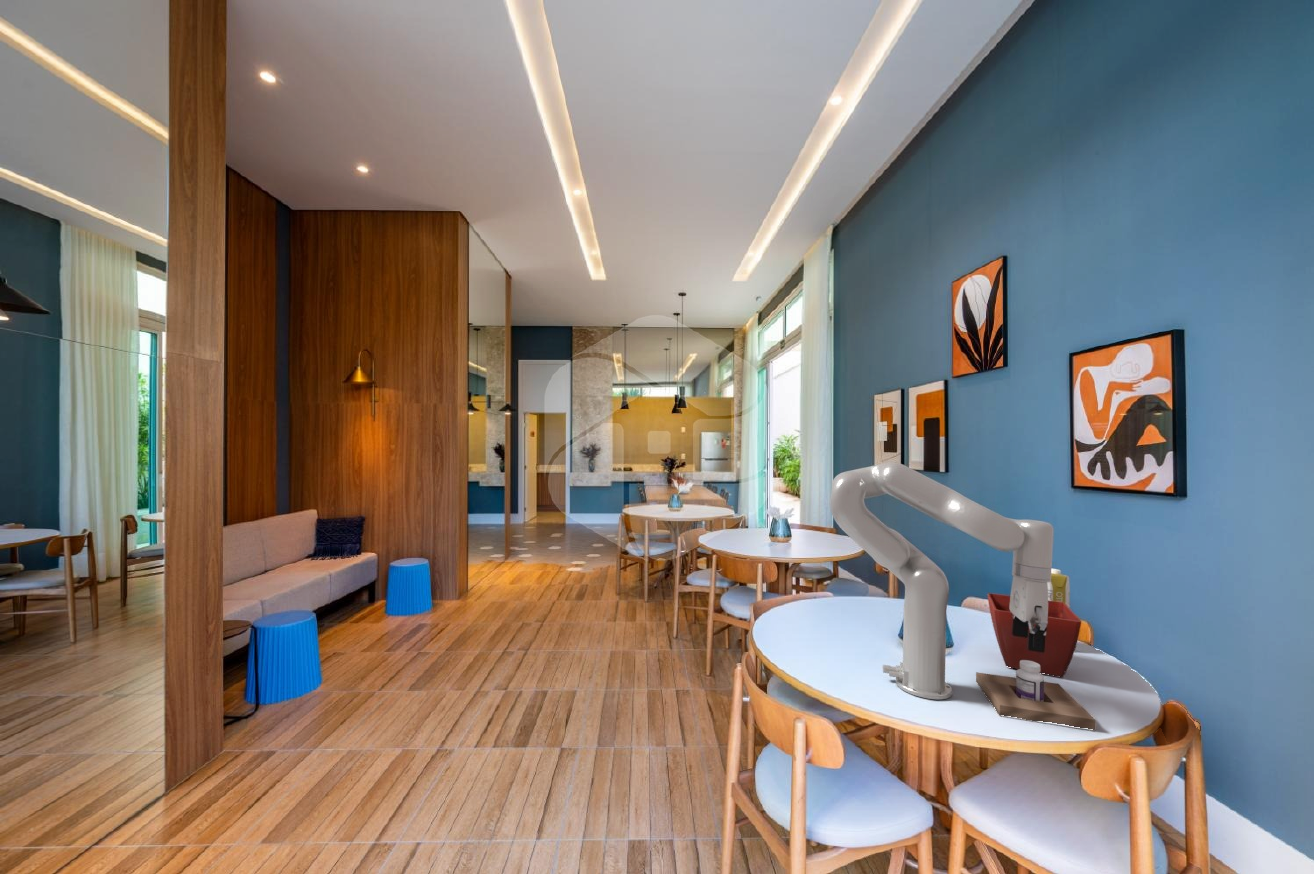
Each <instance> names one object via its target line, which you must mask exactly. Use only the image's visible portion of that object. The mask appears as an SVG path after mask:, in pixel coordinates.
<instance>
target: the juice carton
mask: <svg viewBox="0 0 1314 874" xmlns="http://www.w3.org/2000/svg"><path fill="white" fill-rule="evenodd" d="M1051 568H1052V567H1051ZM1061 572H1062V570H1060V569H1056V568H1052V569H1051V582H1047V584H1048V600H1049V601H1056V602H1062V603H1065V604H1066V605H1067V606H1068V607H1069V608H1070V604H1071V603H1070V598H1071V597H1070V596H1071V595H1070V594H1071V593H1070V592H1071V590H1070V589H1071V587H1070V577H1069V576H1068V575H1066V574H1062V573H1061Z"/></svg>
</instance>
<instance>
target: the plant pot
mask: <svg viewBox="0 0 1314 874" xmlns="http://www.w3.org/2000/svg"><path fill="white" fill-rule="evenodd" d="M1010 596H1011V595H1007V594H999V593H991V592H989V593H987V599H988V600H987V601H988V607H989V612H990V618H991V623H992V626H993V630H994V634H995V638H996V641H997V645H998V648H999V651H1000V654H1001V656H1002V659H1003V662H1004V665H1005V666H1008V667H1011V668H1016V669H1021V668H1020V661H1021V660H1029V661H1033V662H1036V663H1038V664H1039V665H1040V672H1039V673H1045V674H1049V675H1048V676H1050V675H1054V676H1053V677H1055V676H1060V677H1059V678H1063V677H1064V676H1065V675H1066V673H1067V671H1068V668H1069V667H1070V664H1071V661H1072V659H1073V656H1074V654H1075V650H1076V647H1077V644H1078V641H1079V636H1080V632H1081V626H1082V620H1081V619H1080V618H1079V617H1078V615H1077V614H1075V612H1073V611H1072V609H1071V608H1070V606H1069V607H1068V606H1067V605H1066V604H1065V603H1062V602H1056V601H1049V600H1048V618H1047V620H1048V623H1047V626H1046V627H1047V630H1046V636H1045V651H1044V653H1042V652H1035V651H1029V650H1028V649H1027V645H1028V637H1027V638H1024V637H1018V636H1013V635H1012V625H1013V613H1012V612H1011V611H1010V609H1009V606H1010ZM1031 620H1033V619H1031ZM1033 626H1034V627H1035V626H1036V625H1034V624H1033ZM1028 632H1029V633H1030V629H1029V624H1028ZM1008 667H1007V668H1008ZM1011 668H1010V669H1011ZM1016 669H1015V670H1016Z"/></svg>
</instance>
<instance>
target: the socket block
mask: <svg viewBox="0 0 1314 874" xmlns="http://www.w3.org/2000/svg"><path fill="white" fill-rule="evenodd" d="M975 674H976V675H975V682H977V683H978V684H977V683H976V684H977V685H978V687H979V686H980V687H981V688H980V687H979V688H980V690H981V689H982V690H981V691H982V693H983V692H984V693H985V694H984V693H983V694H984V696H985V695H986V696H987V697H986V696H985V697H986V698H988V699H989V700H990V701H989V700H988V699H987V700H988V701H989V703H990V702H991V703H992V704H991V703H990V704H991V706H992V705H993V706H992V707H993V708H994V707H995V709H996V710H995V709H994V710H995V712H996V711H997V712H996V713H997V714H999V715H1004V716H1011V717H1017V718H1022V719H1026V720H1025V721H1027V720H1032V721H1031V722H1033V721H1043V722H1052V723H1057V724H1065V725H1069V726H1074V727H1080V728H1088V729H1093V730H1095V731H1097V729H1096V728H1097V726H1096V725H1097V724H1096V723H1097V720H1096V719H1095V718H1094V716H1093V715H1092V714H1090V713H1089V711H1087V710H1086V708H1084V707H1083V706H1082V705H1081V704H1080V703H1079V702H1078V701H1077V700H1076V699H1075V698H1074V697H1073V696H1072V695H1071V694H1070V693H1069V692H1068V691H1066V689H1064V687H1062V686H1061V685H1060V683H1056V682H1049V681H1044V702H1042V701H1035V700H1029V699H1022V698H1018V696H1017V695H1016V677H1012V676H1004V675H999V674H992V673H984V672H977V671H976V672H975ZM999 715H998V716H999ZM1095 731H1094V732H1095Z"/></svg>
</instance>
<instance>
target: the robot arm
mask: <svg viewBox="0 0 1314 874" xmlns="http://www.w3.org/2000/svg"><path fill="white" fill-rule="evenodd" d="M887 494H888V495H889V496H891V497H892V498H893V497H894V498H895V499H896V500H899V501H901V502H902V503H904V504H906V505H908V506H910V507H912V508H914V509H916V510H918V511H919V512H921V513H923V514H925V515H927V516H928V517H931V518H933V519H935V520H937V521H939V522H940V523H944V524H946V525H948V526H951V527H953V528H954V529H956V530H957V529H958V530H960V531H961V532H963V533H965V534H967V535H969V536H970V537H973V538H975V539H976V540H978V541H981V542H983V543H984V544H986V545H988V546H989V547H992V548H993V549H995V550H997V551H999V552H1004V553H1006V552H1008V553H1009V552H1012V554H1013V555H1012V556H1013V557H1012V568H1011V569H1012V571H1011V575H1012V576H1013V577H1012V582H1011V587H1010V588H1011V590H1010V595H1009V596H1010V606H1009V609H1010V611H1011V612H1012V613H1013V625H1012V635H1013V636H1018V637H1024V638H1027V637H1028V645H1027V649H1028V650H1029V651H1035V652H1042V653H1044V651H1045V636H1046V630H1047V627H1046V626H1047V623H1048V620H1047V618H1048V584H1047V582H1051V569H1052V567H1053V564H1052V563H1053V550H1054V549H1053V548H1054V534H1055V533H1054V527H1053V525H1052V524H1051V523H1049V522H1047V521H1042V520H1036V519H1035V520H1034V519H1014V518H1011V517H1010V518H1009V517H1005V516H1003V515H1001V514H1000V513H997V512H996V511H994V510H991V509H989V508H987V507H985V506H984V505H981V503H980V504H979V503H977V502H976V501H973V500H972V499H970V498H968V497H966V496H964V495H963V494H961V493H960V492H957V491H956V490H954V489H952V488H951V487H949V486H946V485H944V484H942V483H940V482H938V481H936V480H935V479H932V478H930V477H929V476H926V475H924V474H923V473H920V472H919V471H917V470H914V469H913V468H911V467H909V466H907V465H905V464H902V463H899V462H893V461H889V462H888V461H886V462H883V463H879V464H876V465H875V464H874V465H871V466H870V465H869V466H867V467H860V468H857V469H853V470H847V471H844V472H840V473H838V474H837V475H835V477H834V478H833V480H832V482H831V491H830V498H829V501H830V502H829V507H830V511H831V515H832V517H833V520H834V522H835V523H836V524H837V526H838V527H839V528H840V529H841V530H842V531H843V532H844V533H845V534H846V535H847V536H848V537H849V538H850V539H851V540H853V542H855V543H856V544H857V545H858V546H859V547H860V548H861V549H862V550H864V552H866V553H867V554H868V555H869V556H870V557H871V558H872V559H873V560H874V561H875V562H876V564H878V565H879V566H880V567H883V568H886V569H887V570H888V571H889V572H891V574H893V575H894V576H895V578H897V579H898V580H899V581H900V582H902V583H903V585H904V600H903V601H904V603H903V616H902V617H903V619H902V620H903V627H902V628H903V629H902V631H903V634H902V635H903V636H902V637H903V640H902V662H899V665H895V666H891V665H888V664H882V672H883V674H884V673H885V674H888V676H889V677H890V678H891V677H892V678H895V684H896V685H897V687H898V688H900V689H901V690H903V691H904V692H906V693H908V694H910V695H913V696H916V697H919V698H923V699H927V700H928V699H929V700H946V699H949V698H951V697H952V695H953V689H952V686H951V685H949V684H948V682H946V652H947V651H946V650H947V647H946V646H947V641H946V640H947V629H946V628H947V627H946V626H947V608H948V602H949V601H948V600H949V595H950V592H949V591H950V587H949V581H948V579H947V576H946V574H945V572H944V570H942V569H941V568H940V567H939V565H937V564H936V563H935V562H934V561H933V560H932V559H930V558H929V557H928V556H927V555H926V554H924V553H923V552H922V551H921V550H920V549H918V548H917V547H916V546H915V545H914V544H912V543H911V542H910V541H909V540H908V539H906V538H905V537H904V536H903V535H902V533H900V532H898V531H897V530H895V529H893V528H891V527H889V526H887V525H886V524H885V523H883V522H882V521H881V520H880V519H879V518H878V517H877V516H876V515H875V514H874V513H872V512H871V511H870V509H868V508H867V506H866V503H865V499H870V498H874V497H879V496H883V495H887ZM1031 619H1033V620H1031ZM1028 624H1029V629H1030V633H1029V632H1028ZM1033 624H1034V625H1036V626H1035V627H1034V626H1033Z"/></svg>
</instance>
